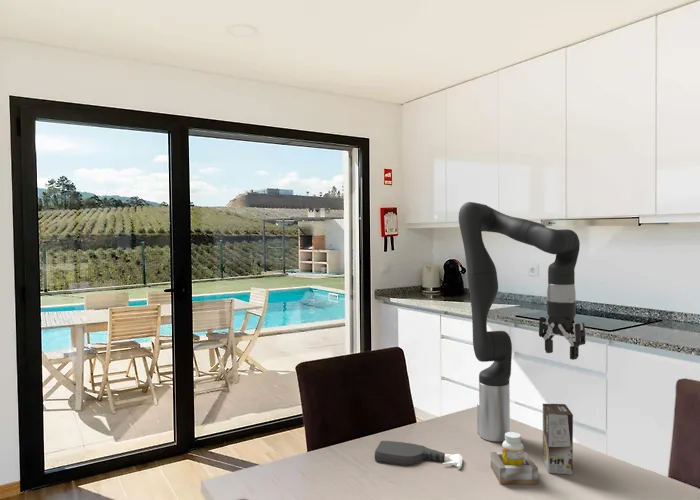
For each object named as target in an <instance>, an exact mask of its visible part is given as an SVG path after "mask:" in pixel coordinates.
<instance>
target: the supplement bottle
mask: <svg viewBox="0 0 700 500" xmlns="http://www.w3.org/2000/svg"><path fill="white" fill-rule="evenodd" d="M521 441H522V437H521V434H520V433H518V432H515V431H514V432H513V431H510V432H507V433H505V441H502V444H501V445H502V446H501V447H502V451H501V452H502V457H503V458H502V462H503V464H504V465H524V460H523V452H524V444H523V443H522V442H521Z"/></svg>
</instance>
